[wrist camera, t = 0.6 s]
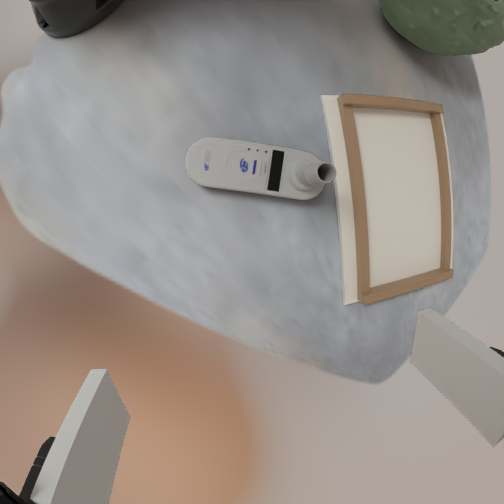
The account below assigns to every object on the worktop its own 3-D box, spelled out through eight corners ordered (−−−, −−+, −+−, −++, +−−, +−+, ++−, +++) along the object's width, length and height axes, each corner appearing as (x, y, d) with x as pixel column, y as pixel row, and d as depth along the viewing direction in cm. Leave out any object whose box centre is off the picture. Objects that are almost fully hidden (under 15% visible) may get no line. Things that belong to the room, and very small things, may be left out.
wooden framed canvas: (320, 96, 29) (328, 90, 26) (437, 106, 31) (449, 103, 28) (342, 302, 35) (351, 311, 32) (448, 272, 37) (459, 277, 34)
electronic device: (177, 117, 20) (359, 148, 21) (191, 138, 29) (322, 158, 31) (167, 183, 21) (350, 209, 22) (185, 184, 30) (315, 202, 32)
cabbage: (344, -23, 24) (403, -93, 5) (434, 13, 26) (504, -24, 7) (361, 50, 28) (456, -18, 8) (454, 83, 30) (544, 61, 11)
